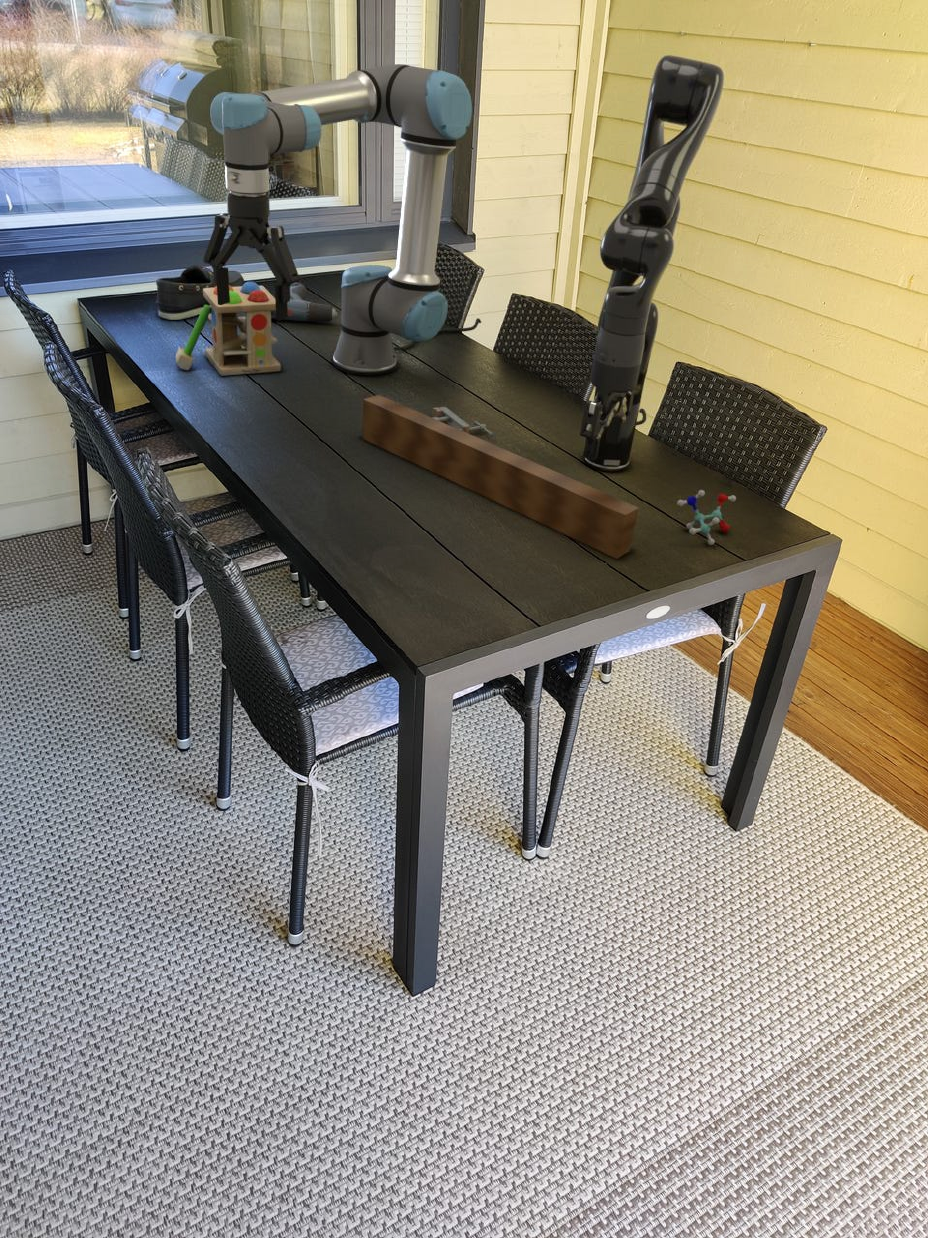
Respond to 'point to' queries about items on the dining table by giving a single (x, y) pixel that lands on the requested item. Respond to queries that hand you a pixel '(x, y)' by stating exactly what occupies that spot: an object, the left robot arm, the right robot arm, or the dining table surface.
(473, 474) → the bar
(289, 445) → the dining table surface
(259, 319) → the pounding bench toy
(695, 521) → the molecular model
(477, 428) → the clamp
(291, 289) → the power drill
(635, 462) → the dining table surface
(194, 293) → the boat shoe
